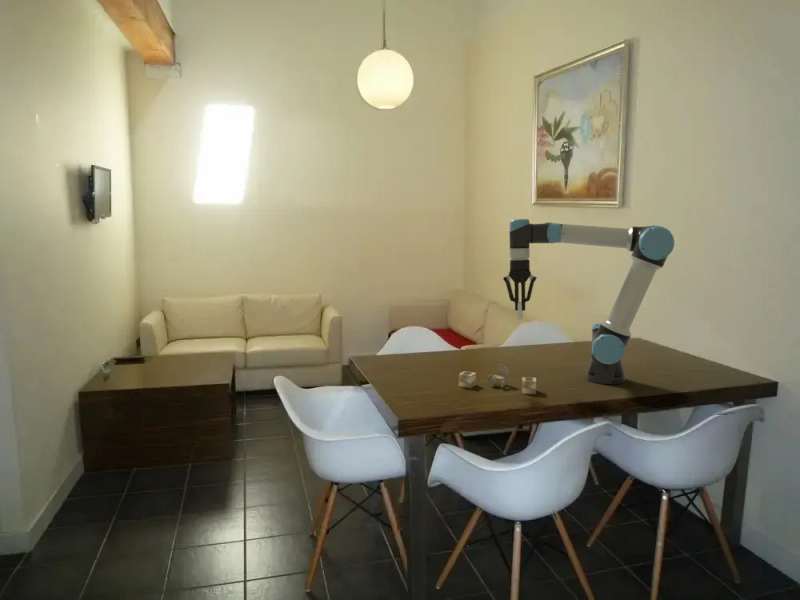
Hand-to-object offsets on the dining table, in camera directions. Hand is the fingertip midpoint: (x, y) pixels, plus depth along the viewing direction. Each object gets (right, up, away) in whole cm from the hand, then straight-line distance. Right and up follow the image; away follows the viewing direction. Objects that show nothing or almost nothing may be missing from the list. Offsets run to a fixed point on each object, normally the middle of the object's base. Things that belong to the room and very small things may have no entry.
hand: (520, 318), depth 245 cm
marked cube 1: (-21, -26, -1) cm, 34 cm away
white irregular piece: (-9, -27, -3) cm, 28 cm away
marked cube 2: (+1, -27, -10) cm, 29 cm away
